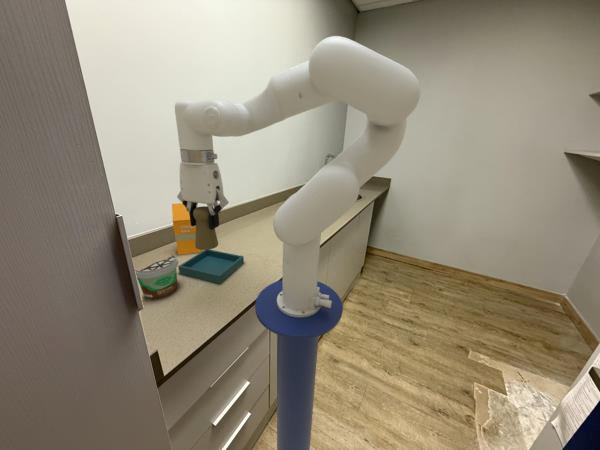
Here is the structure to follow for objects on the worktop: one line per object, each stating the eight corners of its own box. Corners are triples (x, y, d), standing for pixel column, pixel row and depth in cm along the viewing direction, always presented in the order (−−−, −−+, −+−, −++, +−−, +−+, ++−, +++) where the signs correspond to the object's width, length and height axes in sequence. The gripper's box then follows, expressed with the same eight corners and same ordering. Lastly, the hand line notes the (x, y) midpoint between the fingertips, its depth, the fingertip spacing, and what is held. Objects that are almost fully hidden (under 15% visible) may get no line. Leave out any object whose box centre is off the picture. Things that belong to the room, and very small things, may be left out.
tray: (243, 263, 92) (243, 256, 91) (220, 284, 79) (219, 276, 78) (207, 255, 96) (206, 248, 95) (179, 273, 83) (178, 266, 82)
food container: (152, 307, 67) (145, 276, 64) (139, 300, 70) (132, 270, 66) (190, 285, 77) (186, 257, 74) (178, 279, 80) (173, 252, 76)
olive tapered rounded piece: (223, 244, 69) (220, 206, 65) (205, 252, 64) (200, 212, 60) (208, 239, 71) (205, 203, 68) (190, 246, 67) (185, 207, 63)
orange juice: (180, 246, 103) (172, 201, 96) (202, 244, 106) (196, 200, 99) (177, 255, 96) (170, 206, 89) (201, 252, 99) (195, 205, 92)
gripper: (236, 158, 60) (240, 226, 67) (180, 154, 65) (188, 217, 71) (218, 160, 54) (224, 236, 60) (157, 155, 58) (168, 226, 65)
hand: (205, 225), depth 66 cm, fingers closed on olive tapered rounded piece, 5 cm apart
